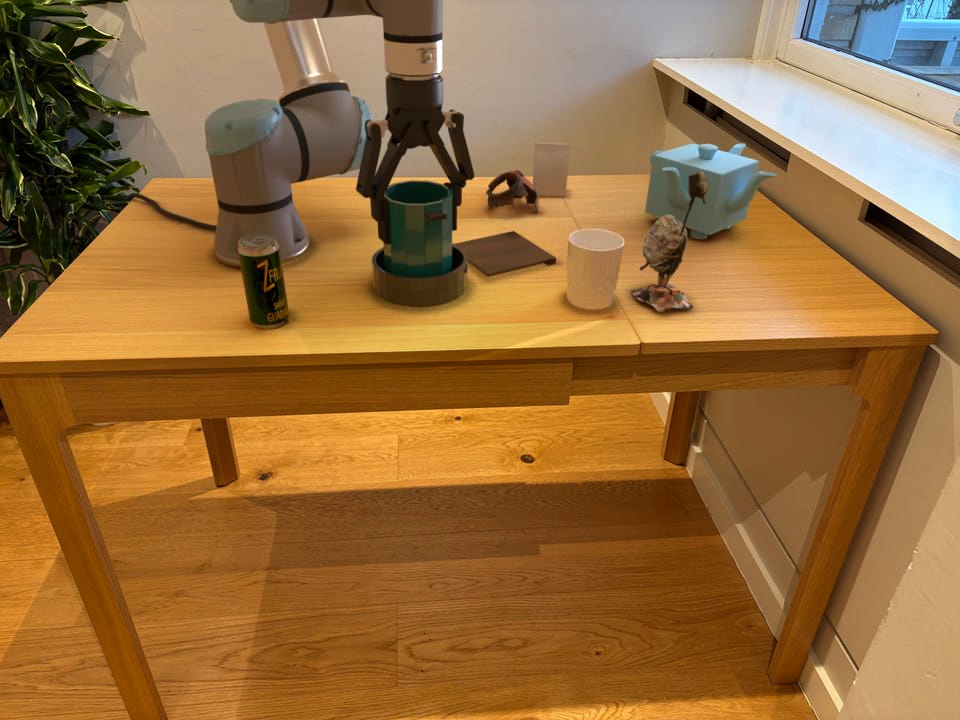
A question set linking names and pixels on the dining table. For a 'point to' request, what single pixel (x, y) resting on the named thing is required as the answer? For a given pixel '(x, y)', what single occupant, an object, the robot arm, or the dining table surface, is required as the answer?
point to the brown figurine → (668, 253)
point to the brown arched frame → (512, 190)
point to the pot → (419, 229)
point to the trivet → (504, 253)
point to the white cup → (593, 267)
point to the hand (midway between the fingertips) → (418, 233)
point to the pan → (421, 283)
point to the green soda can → (263, 280)
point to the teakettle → (725, 178)
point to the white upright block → (550, 169)
